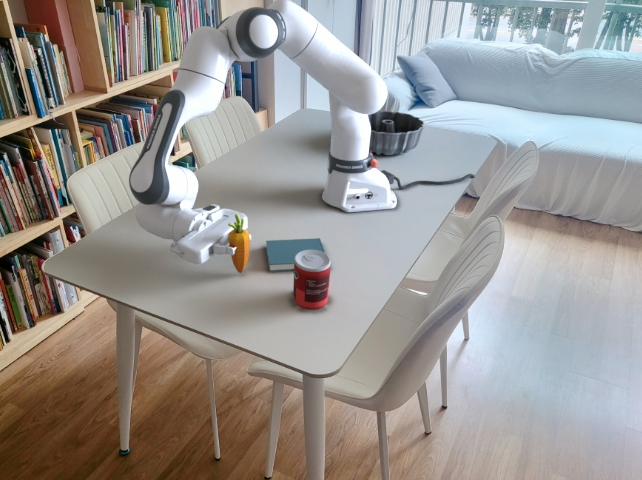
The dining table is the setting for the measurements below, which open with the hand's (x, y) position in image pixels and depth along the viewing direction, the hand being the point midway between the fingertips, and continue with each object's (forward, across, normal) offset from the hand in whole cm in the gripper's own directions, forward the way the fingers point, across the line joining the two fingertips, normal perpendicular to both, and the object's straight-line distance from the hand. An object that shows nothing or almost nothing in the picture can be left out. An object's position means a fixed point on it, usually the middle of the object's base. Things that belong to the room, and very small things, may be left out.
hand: (242, 244), depth 119 cm
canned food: (+18, -1, +9) cm, 20 cm away
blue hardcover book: (+7, +13, +9) cm, 17 cm away
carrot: (-1, 0, +8) cm, 8 cm away
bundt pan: (-1, +97, +9) cm, 98 cm away
